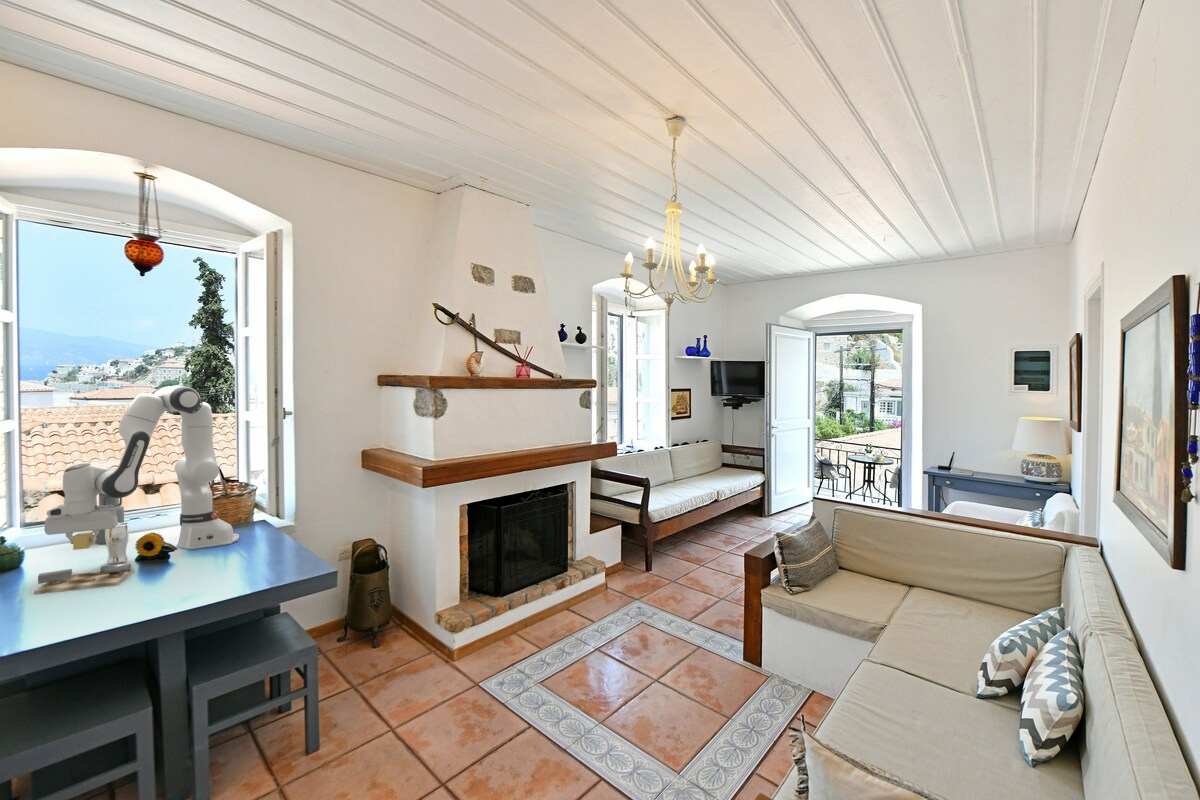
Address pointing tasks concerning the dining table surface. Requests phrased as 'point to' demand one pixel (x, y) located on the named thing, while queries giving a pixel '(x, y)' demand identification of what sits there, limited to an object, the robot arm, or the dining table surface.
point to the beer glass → (117, 543)
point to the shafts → (68, 573)
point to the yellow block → (82, 540)
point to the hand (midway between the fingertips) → (83, 542)
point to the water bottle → (109, 500)
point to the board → (84, 582)
